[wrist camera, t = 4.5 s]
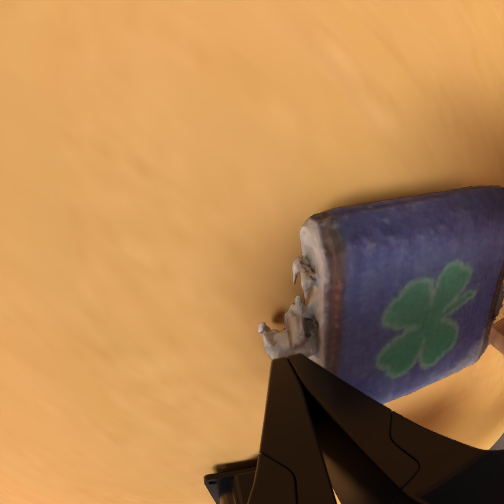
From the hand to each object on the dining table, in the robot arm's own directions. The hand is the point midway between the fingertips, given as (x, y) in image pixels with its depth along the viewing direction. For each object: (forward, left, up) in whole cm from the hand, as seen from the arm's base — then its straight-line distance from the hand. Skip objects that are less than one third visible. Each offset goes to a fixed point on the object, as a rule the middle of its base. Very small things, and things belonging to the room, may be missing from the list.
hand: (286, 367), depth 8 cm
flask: (0, -10, -4) cm, 11 cm away
